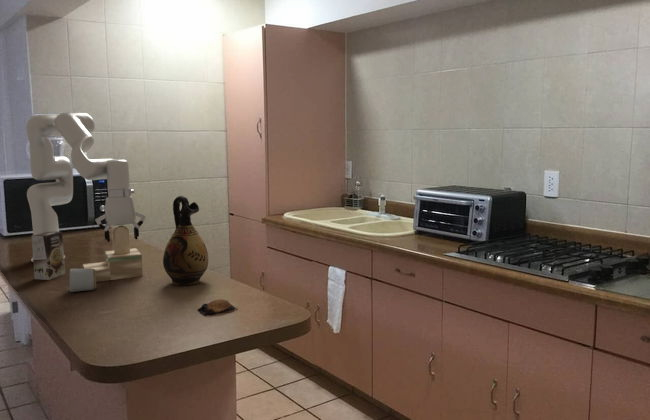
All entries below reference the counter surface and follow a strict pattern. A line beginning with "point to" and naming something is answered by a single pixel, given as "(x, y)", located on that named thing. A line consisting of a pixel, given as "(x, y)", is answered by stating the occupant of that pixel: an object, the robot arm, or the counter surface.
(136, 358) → the counter surface
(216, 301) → the turtle figurine
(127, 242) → the candle
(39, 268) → the coffee box
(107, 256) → the step stand
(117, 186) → the robot arm
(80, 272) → the ceramic mug
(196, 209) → the painted pottery vase
